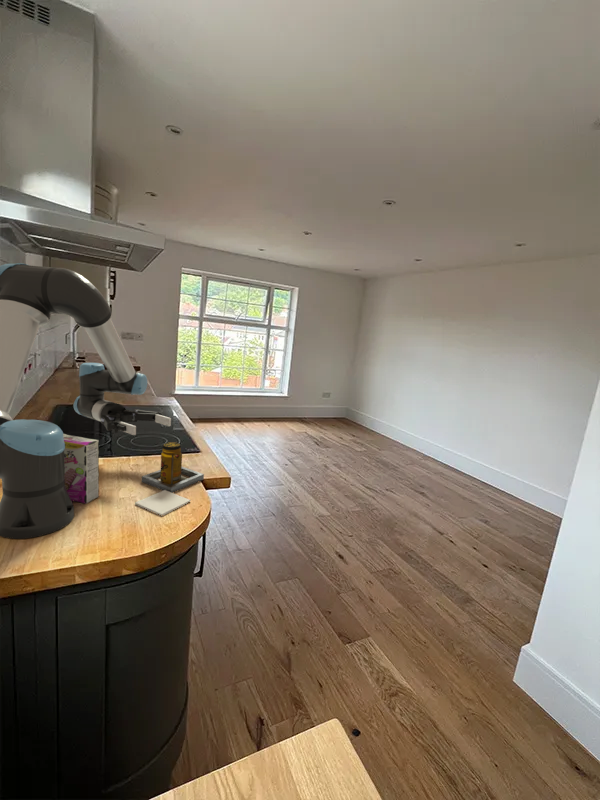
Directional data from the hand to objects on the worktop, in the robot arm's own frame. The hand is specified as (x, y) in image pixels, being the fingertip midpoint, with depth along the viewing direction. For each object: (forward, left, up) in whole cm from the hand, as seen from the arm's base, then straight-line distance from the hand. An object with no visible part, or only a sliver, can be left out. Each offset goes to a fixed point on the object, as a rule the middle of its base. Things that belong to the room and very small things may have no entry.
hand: (153, 426), depth 118 cm
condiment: (0, -10, -16) cm, 19 cm away
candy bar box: (-24, +1, -16) cm, 29 cm away
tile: (-12, -19, -15) cm, 27 cm away
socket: (0, -10, -15) cm, 18 cm away
